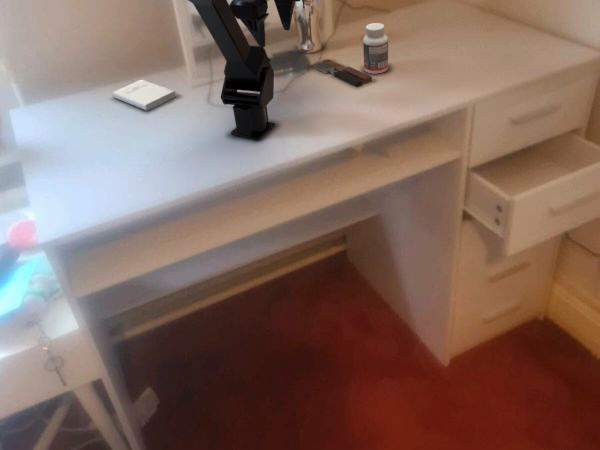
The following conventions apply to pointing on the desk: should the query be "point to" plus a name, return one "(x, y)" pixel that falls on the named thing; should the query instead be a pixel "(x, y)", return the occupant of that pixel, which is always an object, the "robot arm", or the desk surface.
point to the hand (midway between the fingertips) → (275, 38)
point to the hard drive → (144, 94)
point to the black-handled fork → (337, 74)
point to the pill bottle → (375, 49)
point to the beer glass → (308, 25)
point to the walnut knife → (349, 71)
